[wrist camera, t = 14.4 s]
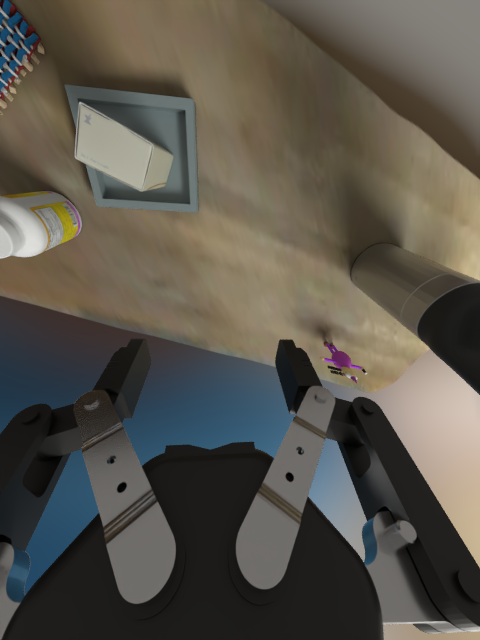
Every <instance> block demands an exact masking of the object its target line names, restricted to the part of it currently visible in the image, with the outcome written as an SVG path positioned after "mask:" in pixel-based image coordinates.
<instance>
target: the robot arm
mask: <svg viewBox="0 0 480 640" xmlns="http://www.w3.org/2000/svg"><path fill="white" fill-rule="evenodd" d="M351 278H352V281H353V283H354V284H355V285H356V286H357V287H358V288H359V289H360V290H361V291H363V292H364V293H365V294H366V295H367V296H368V297H370V298H371V299H372V300H373V301H374V302H376V303H377V304H378V305H379V306H381V307H382V308H383V309H384V310H385V311H387V312H388V313H389V314H390V315H391V316H393V317H394V318H395V319H396V320H397V321H399V322H400V323H401V324H402V325H403V326H405V327H406V328H407V329H408V330H410V331H411V332H412V333H413V334H414V335H416V336H417V337H418V338H419V339H421V340H422V341H423V342H424V343H425V344H426V345H428V346H429V348H430V349H431V350H432V351H433V352H434V353H435V354H436V355H437V356H438V357H439V358H440V359H442V360H443V361H444V362H445V363H446V364H447V365H448V366H450V367H451V368H452V369H453V370H454V371H455V372H456V373H457V374H458V375H459V376H460V377H461V378H463V379H464V380H465V381H466V382H467V383H468V384H469V385H470V386H471V387H472V388H473V389H474V390H475V391H476V392H477V393H478V394H479V395H480V281H479V280H476V279H474V278H472V277H469V276H467V275H464V274H462V273H459V272H457V271H454V270H452V269H450V268H447V267H445V266H442V265H440V264H438V263H435V262H433V261H430V260H428V259H426V258H423V257H421V256H418V255H416V254H414V253H411V252H409V251H407V250H404V249H402V248H399V247H397V246H395V245H392V244H389V243H380V244H376V245H373V246H371V247H369V248H368V249H366V250H365V251H364V252H362V253H361V254H360V256H359V257H358V258H357V259H356V261H355V262H354V265H353V267H352V271H351ZM275 363H276V369H277V372H278V376H279V379H280V383H281V386H282V389H283V393H284V397H285V400H286V403H287V407H288V411H289V413H290V414H296V416H295V417H294V419H293V421H292V423H291V425H290V427H289V429H288V431H287V433H286V435H285V437H284V439H283V441H282V443H281V446H280V448H279V450H278V452H277V454H276V456H275V458H273V457H272V456H270V455H269V454H267V453H265V452H263V451H261V450H258V449H255V447H254V442H240V443H239V442H238V443H230V444H228V445H224V446H221V447H218V448H215V449H212V450H209V449H204V448H201V447H196V446H192V445H169V446H166V449H165V453H163V454H160V455H158V456H156V457H154V458H152V459H151V460H149V461H148V462H146V463H145V464H144V465H143V466H141V464H140V462H139V460H138V458H137V455H136V453H135V451H134V449H133V447H132V445H131V442H130V440H129V438H128V436H127V434H126V431H125V429H124V427H123V425H122V422H123V420H124V418H132V416H133V413H134V411H135V407H136V405H137V402H138V400H139V397H140V394H141V391H142V388H143V385H144V383H145V380H146V377H147V374H148V372H149V369H150V365H151V358H150V353H149V348H148V345H147V340H146V339H131V340H130V342H129V344H128V346H127V347H122V348H120V349H119V350H118V351H117V352H115V353H114V355H113V356H112V358H111V360H110V362H109V363H108V365H107V367H106V368H105V370H104V372H103V373H102V375H101V377H100V379H99V380H98V382H97V383H96V385H95V387H94V389H93V390H92V391H90V392H87V393H86V394H84V395H82V396H81V397H80V398H79V399H78V400H77V401H76V402H75V403H74V404H72V405H68V406H65V407H61V408H57V409H53V410H52V409H51V407H50V406H49V405H47V404H37V405H33V406H30V407H28V408H26V409H24V410H23V411H21V412H20V413H18V414H17V415H16V416H15V417H14V418H13V419H12V420H11V421H10V423H9V424H8V425H7V426H6V428H5V429H4V430H3V431H2V433H1V434H0V640H384V638H383V624H413V625H414V626H416V627H417V628H418V629H419V630H421V631H423V632H425V633H430V634H432V633H450V632H471V631H480V568H479V566H478V565H477V563H476V561H475V560H474V558H473V557H472V555H471V553H470V552H469V550H468V548H467V547H466V545H465V544H464V542H463V540H462V539H461V537H460V536H459V534H458V532H457V531H456V529H455V528H454V526H453V524H452V523H451V521H450V519H449V518H448V516H447V515H446V513H445V511H444V510H443V508H442V507H441V505H440V503H439V502H438V500H437V499H436V497H435V495H434V494H433V492H432V490H431V489H430V487H429V485H428V484H427V482H426V481H425V479H424V477H423V476H422V474H421V473H420V471H419V470H418V468H417V466H416V465H415V463H414V461H413V460H412V458H411V457H410V455H409V453H408V451H407V450H406V448H405V447H404V445H403V443H402V442H401V440H400V439H399V437H398V436H397V434H396V432H395V431H394V429H393V427H392V426H391V424H390V422H389V421H388V419H387V418H386V416H385V415H384V413H383V411H382V410H381V408H380V407H379V406H378V405H377V404H376V403H375V402H373V401H372V400H370V399H368V398H365V397H357V398H355V399H354V400H353V402H349V401H346V400H342V399H338V398H335V397H334V396H333V394H332V393H331V392H330V391H329V390H328V389H326V388H324V387H323V386H322V384H321V382H320V380H319V378H318V376H317V374H316V372H315V370H314V368H313V367H312V363H311V361H310V359H309V357H308V355H307V353H306V352H305V351H304V350H302V349H301V348H296V346H295V344H294V342H293V340H280V341H279V345H278V349H277V354H276V360H275ZM326 438H328V439H332V440H335V441H337V442H338V445H339V448H340V450H341V453H342V456H343V458H344V461H345V464H346V466H347V469H348V472H349V474H350V477H351V479H352V482H353V485H354V487H355V490H356V493H357V495H358V498H359V501H360V503H361V506H362V509H363V511H364V514H365V516H366V519H367V522H366V523H365V524H364V526H363V529H362V539H363V544H364V548H365V561H364V562H363V561H362V559H361V558H360V556H359V555H358V553H357V552H356V551H355V550H354V549H353V547H352V546H351V545H350V544H349V543H348V542H347V541H346V539H345V538H344V537H343V536H342V535H341V534H340V533H339V531H338V530H337V529H336V528H335V527H334V526H333V524H332V523H331V522H330V521H329V520H328V519H327V518H326V517H325V515H324V514H323V513H322V512H321V511H320V510H319V508H318V507H317V506H316V505H315V504H314V503H313V502H312V500H311V499H310V498H309V497H308V494H309V490H310V487H311V484H312V481H313V477H314V474H315V471H316V468H317V465H318V461H319V458H320V455H321V451H322V449H323V445H324V442H325V439H326ZM80 449H82V453H83V456H84V460H85V464H86V467H87V470H88V474H89V478H90V481H91V484H92V488H93V492H94V495H95V499H96V503H97V506H98V509H99V513H98V514H97V516H96V517H95V518H94V519H93V520H92V521H91V522H90V523H89V524H88V525H87V526H86V528H85V529H84V530H83V531H82V532H81V533H80V534H79V535H78V536H77V538H75V540H74V541H73V542H72V543H71V544H70V545H69V546H68V547H67V548H66V549H65V551H64V552H63V553H62V554H61V555H60V556H59V557H58V558H57V559H56V561H55V562H54V563H53V564H52V565H51V566H50V567H49V568H48V569H47V570H46V571H45V572H44V574H43V575H42V576H41V577H40V578H39V579H38V580H37V581H36V582H35V584H34V585H33V586H32V587H31V588H30V590H29V591H28V593H27V594H26V595H24V586H25V581H26V579H27V575H28V572H29V568H30V558H29V555H28V554H27V553H26V552H25V549H26V547H27V545H28V543H29V541H30V539H31V537H32V535H33V532H34V530H35V528H36V526H37V524H38V522H39V520H40V517H41V516H42V513H43V511H44V509H45V507H46V505H47V503H48V501H49V498H50V496H51V494H52V492H53V490H54V488H55V486H56V484H57V482H58V480H59V477H60V475H61V473H62V471H63V469H64V467H65V465H66V462H67V460H68V458H69V456H70V454H71V452H74V451H76V450H80Z"/></svg>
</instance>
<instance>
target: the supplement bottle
mask: <svg viewBox="0 0 480 640" xmlns="http://www.w3.org/2000/svg"><path fill="white" fill-rule="evenodd" d="M81 227H82V221H81V217H80V214H79V212H78V211H77V209H76V207H75V206H74V205H73V204H72V203H71V202H70V201H69V200H68V199H66V198H65V197H64V196H62V195H60V194H58V193H55V192H51V191H38V192H29V193H21V194H12V195H3V196H0V258H5V257H8V256H11V255H14V256H18V257H31V256H35V255H38V254H40V253H42V252H44V251H46V250H48V249H50V248H53V247H55V246H57V245H59V244H61V243H63V242H66V241H68V240H70V239H72V238H74V237H76V236H77V235H78V234H79V233H80V231H81Z"/></svg>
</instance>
